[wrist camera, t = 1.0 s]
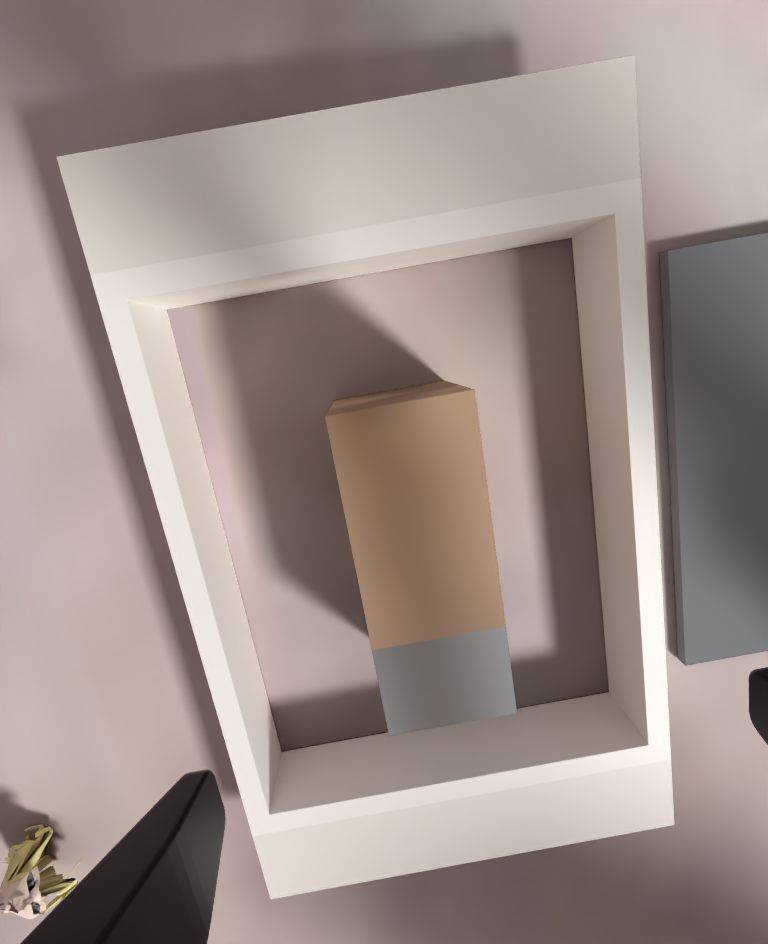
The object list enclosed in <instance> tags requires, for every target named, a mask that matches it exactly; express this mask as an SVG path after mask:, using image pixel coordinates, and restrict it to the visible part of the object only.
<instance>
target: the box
mask: <svg viewBox="0 0 768 944" xmlns="http://www.w3.org/2000/svg"><path fill="white" fill-rule="evenodd" d="M325 420H326V425H327V430H328V435H329V440H330V444H331V449H332V454H333V459H334V464H335V469H336V474H337V479H338V484H339V489H340V494H341V499H342V504H343V509H344V514H345V519H346V524H347V529H348V534H349V539H350V544H351V549H352V554H353V559H354V564H355V569H356V574H357V579H358V584H359V589H360V594H361V599H362V604H363V609H364V614H365V619H366V624H367V629H368V634H369V639H370V644H371V649H372V654H373V659H374V664H375V669H376V674H377V679H378V684H379V688H380V693H381V698H382V703H383V708H384V713H385V718H386V723H387V728H388V733H389V736H394V735H399V734H405V733H410V732H416V731H422V730H427V729H433V728H438V727H444V726H449V725H455V724H460V723H466V722H471V721H477V720H482V719H488V718H493V717H499V716H504V715H510V714H515V713H517V709H516V701H515V694H514V686H513V678H512V671H511V663H510V656H509V648H508V640H507V633H506V625H505V617H504V610H503V602H502V595H501V587H500V579H499V572H498V564H497V557H496V549H495V541H494V534H493V526H492V519H491V511H490V503H489V496H488V488H487V480H486V473H485V465H484V458H483V450H482V442H481V435H480V427H479V420H478V412H477V404H476V397H475V390H474V389H471V388H468V387H464V386H461V385H457V384H454V383H450V382H447V381H440V382H434V383H429V384H423V385H418V386H412V387H406V388H401V389H395V390H390V391H384V392H378V393H373V394H367V395H362V396H356V397H351V398H345V399H339V400H334V402H333V404H332V405H331V407H330V409H329V410H328V412H327V414H326V415H325Z"/></svg>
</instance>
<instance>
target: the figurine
mask: <svg viewBox="0 0 768 944" xmlns="http://www.w3.org/2000/svg"><path fill="white" fill-rule="evenodd" d="M32 829H38V830H37V832H36V833H35V834H34V835H35V836H36V837H35V838H36V839H35V841H33V840H29V835H27V836H26V837H25V838H24V842H23V843H21V844H20V845H14V846H12V848H11V849H9V853H8V857H9V858H10V859H9V858H5V861H4V862H3V863H8V864H9V866H8V869H7V871H6V874H5V877H4V879H3V882H2V884H1V887H0V910H3V912H2V914H3V913H8V912H11V913H13V914H16V915H19V916H21V917H24V918H27V919H30V920H31V919H33V918H35V917H36V916H38V915H39V914H41V913H42V912H43V913H42V914H43V915H45V913H46V912H47V911H48V910H49V909H50V908H51V907H52V906H53V905H54V904H56V903H57V902H58V901H59V900H60V899H61V898H62V897H63V898H62V900H63V899H64V898H65V897H66V896H67V895H68V894H69V893H70V892H71V891H72V890H73V889H74V888H75V887H76V886H77V885H78V882H77V881H76V879H75V878H71V879H64V878H65V877H64V878H63V874H60V875H55V874H56V873H55V870H54V868H53V866H50V867H49V868H47V869H45V870H44V871H42V872H40V871H41V870H42V869H43V868H45V867H46V866H47V865H48V864H49V863H50V862H51V861H52V859H51V857H50V855H45V856H43V855H44V854H45V853H46V848H45V847H46V846H47V845H48V843H49V841H50V840H51V838H52V836H53V829H52V828H51V827H50V826H49V827H46V828H44V826H43V825H42V824H40V825H35V826H31V827H28V828H26V829H25V831H24V832H26V831H28V830H32ZM45 832H46V835H45V837H44V839H43V835H44V833H45ZM42 856H43V857H42ZM41 857H42V859H41V860H40V858H41ZM81 859H82V858H81ZM80 861H81V860H80ZM79 863H80V862H79ZM77 866H78V865H77ZM77 866H76V867H77ZM76 867H75V868H76ZM75 868H74V869H75ZM74 869H73V870H74ZM73 870H72V871H73ZM72 871H71V872H72ZM39 872H40V873H39ZM71 872H70V873H71ZM70 873H69V874H70ZM69 874H68V875H69ZM68 875H67V876H68ZM68 881H72V882H68ZM58 891H59V892H58ZM54 892H56V893H57V897H56V898H55V899H54V900H52V901H51V902H50V903H49V904H48V905H47V906H46V905H45V903H44V902H43V901H41V900H42V899H43V898H45V897H46V896H47V894H51V893H54Z"/></svg>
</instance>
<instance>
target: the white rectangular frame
mask: <svg viewBox="0 0 768 944" xmlns="http://www.w3.org/2000/svg"><path fill="white" fill-rule="evenodd" d="M56 158H57V161H58V165H59V168H60V172H61V175H62V179H63V182H64V186H65V189H66V193H67V196H68V199H69V203H70V206H71V210H72V213H73V217H74V220H75V224H76V227H77V231H78V234H79V238H80V241H81V244H82V248H83V251H84V255H85V258H86V262H87V265H88V269H89V272H90V276H91V279H92V283H93V286H94V289H95V293H96V296H97V300H98V303H99V307H100V310H101V314H102V317H103V321H104V324H105V328H106V331H107V334H108V338H109V341H110V345H111V348H112V352H113V355H114V359H115V362H116V366H117V369H118V373H119V376H120V379H121V383H122V386H123V390H124V393H125V397H126V400H127V404H128V407H129V411H130V414H131V418H132V421H133V425H134V428H135V431H136V435H137V438H138V442H139V445H140V449H141V452H142V456H143V459H144V463H145V466H146V470H147V473H148V476H149V480H150V483H151V487H152V490H153V494H154V497H155V501H156V504H157V508H158V511H159V515H160V518H161V521H162V525H163V528H164V532H165V535H166V539H167V542H168V546H169V549H170V553H171V556H172V560H173V563H174V566H175V570H176V573H177V577H178V580H179V584H180V587H181V591H182V594H183V598H184V601H185V605H186V608H187V611H188V615H189V618H190V622H191V625H192V629H193V632H194V636H195V639H196V643H197V646H198V650H199V653H200V657H201V660H202V663H203V667H204V670H205V674H206V677H207V681H208V684H209V688H210V691H211V695H212V698H213V702H214V705H215V708H216V712H217V715H218V719H219V722H220V726H221V729H222V733H223V736H224V740H225V743H226V747H227V750H228V753H229V757H230V760H231V764H232V767H233V771H234V774H235V778H236V781H237V785H238V788H239V792H240V795H241V798H242V802H243V805H244V809H245V812H246V816H247V819H248V823H249V826H250V830H251V833H252V837H253V840H254V843H255V847H256V850H257V854H258V857H259V861H260V864H261V868H262V871H263V875H264V878H265V882H266V885H267V889H268V892H269V895H270V899H275V898H281V897H286V896H292V895H297V894H302V893H308V892H313V891H319V890H324V889H330V888H335V887H340V886H346V885H351V884H357V883H362V882H368V881H373V880H378V879H384V878H389V877H395V876H400V875H406V874H411V873H417V872H422V871H427V870H433V869H438V868H444V867H449V866H455V865H460V864H465V863H471V862H476V861H482V860H487V859H493V858H498V857H503V856H509V855H514V854H520V853H525V852H531V851H536V850H542V849H547V848H552V847H558V846H563V845H569V844H574V843H580V842H585V841H590V840H596V839H601V838H607V837H612V836H618V835H623V834H628V833H634V832H639V831H645V830H650V829H656V828H661V827H667V826H672V825H674V808H673V788H672V769H671V750H670V730H669V711H668V691H667V672H666V653H665V633H664V614H663V595H662V575H661V556H660V537H659V517H658V498H657V479H656V459H655V440H654V421H653V401H652V382H651V363H650V343H649V324H648V305H647V285H646V266H645V247H644V227H643V208H642V189H641V169H640V150H639V130H638V111H637V92H636V72H635V55H632V56H626V57H620V58H615V59H609V60H603V61H598V62H592V63H586V64H581V65H575V66H569V67H563V68H558V69H552V70H546V71H541V72H535V73H529V74H524V75H518V76H512V77H507V78H501V79H495V80H490V81H484V82H478V83H472V84H467V85H461V86H455V87H450V88H444V89H438V90H433V91H427V92H421V93H416V94H410V95H404V96H399V97H393V98H387V99H381V100H376V101H370V102H364V103H359V104H353V105H347V106H342V107H336V108H330V109H325V110H319V111H313V112H308V113H302V114H296V115H290V116H285V117H279V118H273V119H268V120H262V121H256V122H251V123H245V124H239V125H234V126H228V127H222V128H217V129H211V130H205V131H200V132H194V133H188V134H182V135H177V136H171V137H165V138H160V139H154V140H148V141H143V142H137V143H131V144H126V145H120V146H114V147H109V148H103V149H97V150H91V151H86V152H80V153H74V154H69V155H63V156H57V157H56ZM567 238H572V246H573V258H574V271H575V283H576V295H577V307H578V319H579V332H580V344H581V356H582V368H583V380H584V392H585V405H586V417H587V429H588V441H589V453H590V466H591V478H592V490H593V502H594V514H595V527H596V539H597V551H598V563H599V575H600V587H601V600H602V612H603V624H604V636H605V648H606V661H607V673H608V685H609V692H607V693H601V694H596V695H590V696H585V697H579V698H574V699H568V700H563V701H558V702H552V703H547V704H541V705H536V706H530V707H525V708H519V709H517V713H515V714H510V715H504V716H499V717H493V718H488V719H482V720H477V721H471V722H466V723H460V724H455V725H449V726H444V727H438V728H433V729H427V730H422V731H416V732H410V733H405V734H399V735H394V736H389V733H382V734H377V735H371V736H366V737H360V738H355V739H349V740H344V741H338V742H333V743H327V744H322V745H316V746H311V747H305V748H300V749H294V750H289V751H284V752H282V751H281V747H280V743H279V740H278V736H277V732H276V728H275V724H274V720H273V717H272V713H271V709H270V705H269V701H268V697H267V693H266V690H265V686H264V682H263V678H262V674H261V670H260V667H259V663H258V659H257V655H256V651H255V647H254V643H253V640H252V636H251V632H250V628H249V624H248V620H247V617H246V613H245V609H244V605H243V601H242V597H241V593H240V590H239V586H238V582H237V578H236V574H235V570H234V567H233V563H232V559H231V555H230V551H229V547H228V543H227V540H226V536H225V532H224V528H223V524H222V520H221V517H220V513H219V509H218V505H217V501H216V497H215V493H214V490H213V486H212V482H211V478H210V474H209V470H208V467H207V463H206V459H205V455H204V451H203V447H202V444H201V440H200V436H199V432H198V428H197V424H196V420H195V417H194V413H193V409H192V405H191V401H190V397H189V394H188V390H187V386H186V382H185V378H184V374H183V370H182V367H181V363H180V359H179V355H178V351H177V347H176V344H175V340H174V336H173V332H172V328H171V324H170V320H169V317H168V313H167V310H168V309H173V308H179V307H185V306H190V305H196V304H201V303H207V302H213V301H218V300H224V299H230V298H235V297H241V296H246V295H252V294H258V293H263V292H269V291H275V290H280V289H286V288H291V287H297V286H303V285H308V284H314V283H320V282H325V281H331V280H337V279H342V278H348V277H353V276H359V275H365V274H370V273H376V272H382V271H387V270H393V269H398V268H404V267H410V266H415V265H421V264H427V263H432V262H438V261H443V260H449V259H455V258H460V257H466V256H472V255H477V254H483V253H489V252H494V251H500V250H505V249H511V248H517V247H522V246H528V245H534V244H539V243H545V242H550V241H556V240H562V239H567Z"/></svg>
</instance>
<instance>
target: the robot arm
mask: <svg viewBox="0 0 768 944" xmlns="http://www.w3.org/2000/svg"><path fill="white" fill-rule="evenodd" d="M749 713H750V718H751V720H752V723H753V725H754V727H755V728H756V730H757V731H758V733H759V734H760V735H761V737H762V738H763V739H764V741H765V742H766V743H767V745H768V667H766V668H761V669H756V670H753V671H752V672H751V673H750V675H749ZM224 830H225V809H224V806H223V802H222V799H221V796H220V792H219V789H218V786H217V782H216V779H215V776H214V774H213V772H212V771H210V770H201V771H196V772H190V773H187V774H185V775H184V776H183V777H182V778H181V779H180V780H179V781H178V782H177V783H176V784H175V785H174V786H173V787H172V788H171V789H170V790H169V791H168V792H167V793H166V794H165V795H164V796H163V797H162V798H161V799H160V800H159V801H158V802H157V803H156V804H155V805H154V806H153V807H152V808H151V809H150V810H149V812H148V813H147V814H146V815H145V816H144V817H143V818H142V819H141V820H140V821H139V822H138V823H137V824H136V825H135V826H134V827H133V828H132V829H131V830H130V831H129V832H128V833H127V834H126V835H125V836H124V837H123V838H122V839H121V840H120V841H119V842H118V843H117V845H116V846H115V847H114V848H113V849H112V850H111V851H110V852H109V853H108V854H107V855H106V856H105V857H104V858H103V859H102V860H101V861H100V862H99V863H98V864H97V865H96V866H95V867H94V868H93V869H92V870H91V871H90V872H89V873H88V874H87V875H86V876H85V878H84V879H83V880H82V881H81V882H80V883H79V884H78V885H77V886H76V887H75V888H74V889H73V890H72V891H71V892H70V893H69V894H68V895H67V896H66V897H65V898H64V899H63V900H62V901H61V902H60V903H59V904H58V905H57V906H56V907H55V908H54V909H53V911H52V912H51V913H50V914H49V915H48V916H47V917H46V918H45V919H44V920H43V921H42V922H41V923H40V924H39V925H38V926H37V927H36V928H35V929H34V930H33V931H32V932H31V933H30V934H29V935H28V936H27V937H26V938H25V939H24V940H23V941H22V942H21V943H20V944H207V940H208V935H209V929H210V924H211V918H212V911H213V904H214V897H215V891H216V884H217V877H218V870H219V863H220V857H221V850H222V843H223V836H224Z"/></svg>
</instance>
